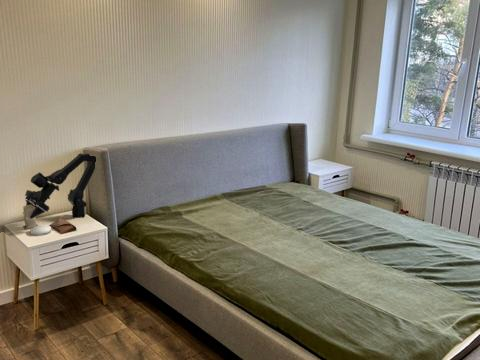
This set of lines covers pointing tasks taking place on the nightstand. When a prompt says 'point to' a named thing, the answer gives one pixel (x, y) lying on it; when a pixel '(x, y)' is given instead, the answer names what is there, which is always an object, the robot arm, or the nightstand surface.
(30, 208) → the beige container
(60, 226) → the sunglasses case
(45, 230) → the stand
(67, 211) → the nightstand surface
